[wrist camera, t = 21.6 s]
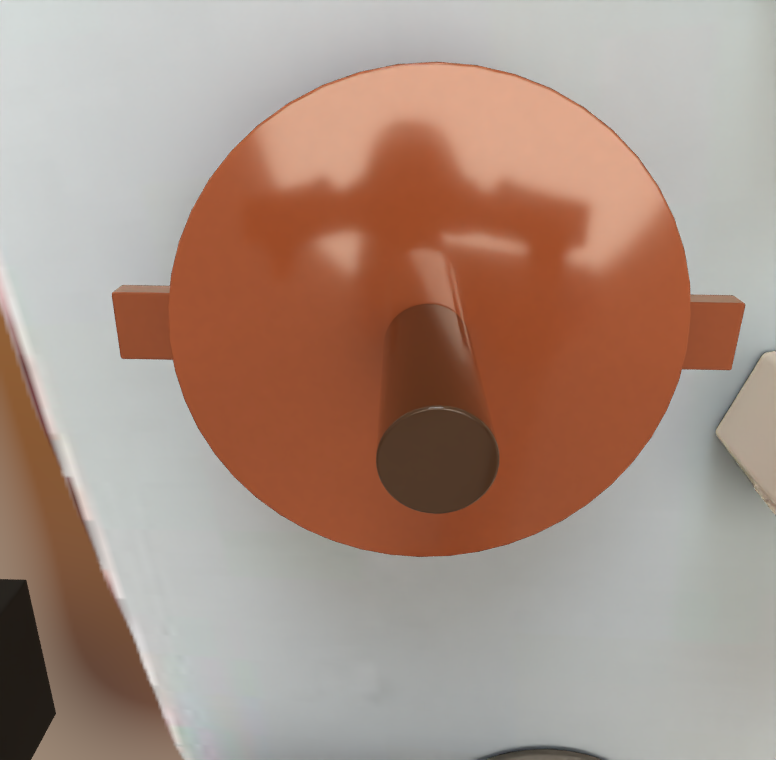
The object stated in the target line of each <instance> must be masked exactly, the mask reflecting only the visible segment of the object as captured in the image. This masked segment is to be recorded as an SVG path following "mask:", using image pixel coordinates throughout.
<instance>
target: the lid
mask: <svg viewBox="0 0 776 760" xmlns="http://www.w3.org/2000/svg"><path fill="white" fill-rule="evenodd" d="M168 319H169V340H170V345H171V351H172V356H173V362H174V367H175V372H176V375H177V378H178V381H179V384H180V387H181V390H182V393H183V396H184V399H185V402H186V404H187V406H188V408H189V410H190V412H191V414H192V416H193V418H194V421H195V423H196V425H197V427H198V429H199V430H200V432H201V433H202V435H203V436H204V438H205V440H206V441H207V443H208V444H209V446H210V447H211V449H212V450H213V452H214V453H215V455H216V456H217V457H218V458H219V459H220V461H221V462H222V463H223V464H224V465H225V467H226V468H227V469H228V470H229V471H230V473H231V474H232V475H233V476H234V477H235V478H236V479H237V480H238V481H239V482H240V483H241V484H242V485H243V486H245V487H246V488H247V489H248V490H249V491H250V492H251V493H252V494H253V495H254V496H255V497H257V498H258V499H259V500H261V501H262V502H263V503H265V504H266V505H267V506H269V507H270V508H272V509H273V510H274V511H276V512H277V513H278V514H280V515H282V516H283V517H285V518H287V519H289V520H290V521H292V522H294V523H296V524H297V525H299V526H301V527H303V528H304V529H306V530H309V531H311V532H313V533H316V534H318V535H321V536H323V537H325V538H328V539H330V540H332V541H335V542H339V543H342V544H345V545H349V546H352V547H355V548H359V549H363V550H368V551H373V552H379V553H384V554H390V555H402V556H416V557H428V556H451V555H459V554H466V553H473V552H479V551H483V550H487V549H491V548H495V547H499V546H503V545H507V544H510V543H513V542H515V541H518V540H521V539H523V538H526V537H529V536H531V535H534V534H537V533H539V532H541V531H543V530H545V529H547V528H549V527H550V526H552V525H554V524H556V523H558V522H560V521H562V520H564V519H566V518H567V517H569V516H570V515H572V514H573V513H575V512H576V511H578V510H579V509H581V508H582V507H584V506H585V505H587V504H588V503H590V502H591V501H592V500H593V499H594V498H596V497H597V496H598V495H599V494H601V493H602V492H603V491H604V490H605V489H607V488H608V487H609V486H610V485H611V484H612V483H613V482H614V481H615V480H616V479H617V478H618V477H619V476H620V475H621V474H622V473H623V472H624V471H625V470H626V469H627V468H628V467H629V466H630V464H631V463H632V462H633V461H634V460H635V458H636V457H637V456H638V454H639V453H640V452H641V450H642V449H643V448H644V446H645V445H646V444H647V442H648V441H649V440H650V438H651V437H652V435H653V433H654V432H655V430H656V428H657V426H658V425H659V423H660V421H661V419H662V418H663V416H664V414H665V412H666V410H667V408H668V406H669V403H670V401H671V398H672V396H673V394H674V391H675V389H676V386H677V384H678V381H679V378H680V374H681V370H682V366H683V362H684V359H685V355H686V351H687V344H688V336H689V327H690V319H691V304H690V280H689V274H688V268H687V262H686V256H685V250H684V247H683V244H682V241H681V238H680V235H679V232H678V228H677V225H676V222H675V219H674V217H673V215H672V213H671V211H670V209H669V206H668V204H667V202H666V200H665V198H664V196H663V194H662V192H661V190H660V188H659V186H658V185H657V183H656V182H655V180H654V179H653V178H652V176H651V175H650V173H649V172H648V170H647V169H646V167H645V166H644V165H643V163H642V162H641V160H640V159H639V157H638V156H637V155H636V154H635V153H634V152H633V151H632V150H631V149H630V148H629V147H628V146H627V144H626V143H625V142H624V141H623V140H622V139H621V138H620V137H619V136H618V135H617V134H616V133H615V132H614V131H613V130H612V129H611V128H610V127H608V126H607V125H606V124H605V123H603V122H602V121H601V120H599V119H598V118H597V117H596V116H594V115H593V114H592V113H591V112H589V111H588V110H587V109H586V108H584V107H583V106H581V105H579V104H577V103H576V102H574V101H572V100H570V99H569V98H567V97H565V96H563V95H562V94H560V93H558V92H557V91H555V90H553V89H551V88H549V87H546V86H544V85H541V84H539V83H536V82H534V81H531V80H529V79H526V78H524V77H521V76H518V75H516V74H512V73H508V72H504V71H499V70H495V69H491V68H487V67H482V66H478V65H469V64H457V63H445V62H426V63H409V64H396V65H391V66H386V67H381V68H376V69H371V70H366V71H362V72H358V73H355V74H352V75H349V76H347V77H344V78H341V79H338V80H335V81H333V82H330V83H327V84H324V85H322V86H320V87H318V88H316V89H314V90H312V91H310V92H308V93H307V94H305V95H303V96H301V97H299V98H297V99H295V100H293V101H291V102H289V103H288V104H286V105H285V106H284V107H282V108H281V109H279V110H278V111H277V112H275V113H274V114H273V115H271V116H270V117H268V118H267V119H266V120H264V121H263V122H261V123H260V124H259V125H257V126H256V127H255V128H254V129H253V130H252V131H251V132H250V133H249V134H248V135H247V136H246V137H245V138H244V139H243V140H242V141H241V142H240V143H239V144H238V145H237V146H236V147H235V148H234V149H233V150H232V151H231V152H230V153H229V154H228V156H227V157H226V158H225V159H224V161H223V162H222V163H221V165H220V166H219V167H218V168H217V170H216V171H215V172H214V174H213V175H212V176H211V177H210V179H209V180H208V182H207V184H206V186H205V187H204V189H203V191H202V193H201V194H200V196H199V198H198V200H197V201H196V203H195V205H194V207H193V208H192V210H191V213H190V215H189V218H188V220H187V223H186V225H185V228H184V230H183V233H182V235H181V238H180V241H179V244H178V248H177V252H176V256H175V260H174V265H173V269H172V273H171V281H170V292H169V302H168Z"/></svg>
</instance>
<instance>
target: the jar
mask: <svg viewBox="0 0 776 760" xmlns="http://www.w3.org/2000/svg"><path fill="white" fill-rule="evenodd" d="M716 435H717V437H718V438H719V439H720V441H721V442H722V443H723V445H724V446H725V448H726V449H727V450H728V452H729V453H730V454H731V456H732V457H733V458H734V460H735V461H736V462H737V464H738V465H739V466H740V468H741V469H742V470H743V472H744V473H745V474H746V476H747V477H748V479H749V480H750V481H751V483H752V484H753V485H754V489H755V490H756V491H757V493H758V494H759V495H760V497H761V498H762V499H763V500H764V502H765V503H766V504H767V505H768V507H769V508H770V509H771V510H772V512H773V513H774V514H775V515H776V351H772V352H766V353H764V354H763V355H762V356H761V358H760V360H759V361H758V363H757V364H756V366H755V368H754V369H753V371H752V373H751V374H750V376H749V378H748V379H747V381H746V382H745V384H744V386H743V387H742V389H741V390H740V392H739V394H738V395H737V397H736V399H735V400H734V402H733V403H732V405H731V407H730V408H729V410H728V411H727V413H726V415H725V416H724V418H723V419H722V421H721V423H720V424H719V426H718V427H717V429H716Z"/></svg>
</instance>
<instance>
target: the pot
mask: <svg viewBox="0 0 776 760" xmlns="http://www.w3.org/2000/svg"><path fill="white" fill-rule="evenodd" d="M169 292H170V286H148V285H122V286H120V287H119V288H118V289H116V290H115V291H114V292H112V300H113V306H114V313H115V320H116V327H117V334H118V341H119V348H120V355H121V358H122V359H166V360H173V356H172V351H171V345H170V340H169V319H168V302H169ZM690 304H691V319H690V327H689V336H688V344H687V351H686V355H685V359H684V362H683V366H682V369H697V370H731V369H732V364H733V359H734V355H735V350H736V346H737V341H738V336H739V332H740V327H741V323H742V318H743V313H744V309H745V303H743V302H742V301H741V300H739V299H738V298H736V297H735V296H733V295H690Z"/></svg>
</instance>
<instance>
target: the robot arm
mask: <svg viewBox="0 0 776 760" xmlns="http://www.w3.org/2000/svg"><path fill="white" fill-rule="evenodd" d="M55 714H56V712H55V708H54V703H53V699H52V694H51V689H50V685H49V680H48V676H47V672H46V667H45V662H44V658H43V653H42V649H41V644H40V640H39V636H38V631H37V626H36V622H35V617H34V613H33V608H32V604H31V599H30V595H29V590H28V586H27V581H26V580H8V579H0V760H31V759H32V757H33V755H34V753H35V751H36V749H37V747H38V746H39V744H40V742H41V740H42V738H43V736H44V735H45V733H46V731H47V729H48V727H49V725H50V723H51V721H52V719H53V718H54V716H55ZM486 760H601V759H599V758H596V757H593V756H589V755H586V754H582V753H577V752H572V751H565V750H553V749H536V750H524V751H516V752H511V753H506V754H502V755H498V756H495V757H491V758H488V759H486Z"/></svg>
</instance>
